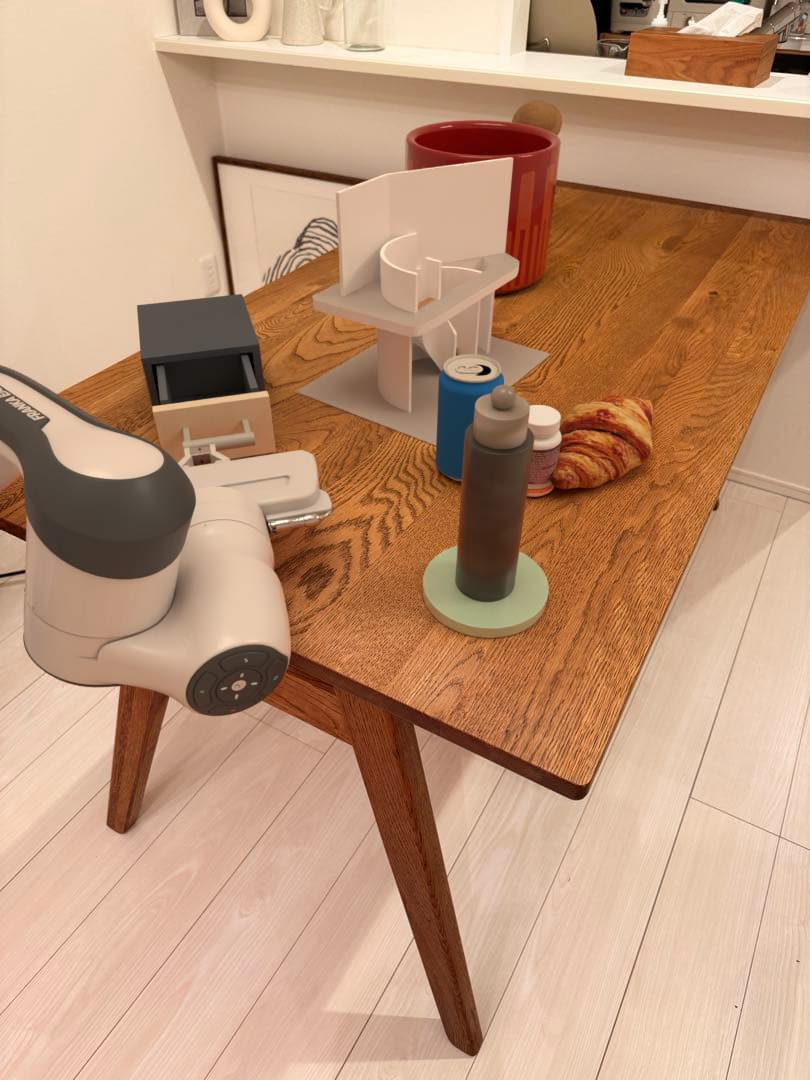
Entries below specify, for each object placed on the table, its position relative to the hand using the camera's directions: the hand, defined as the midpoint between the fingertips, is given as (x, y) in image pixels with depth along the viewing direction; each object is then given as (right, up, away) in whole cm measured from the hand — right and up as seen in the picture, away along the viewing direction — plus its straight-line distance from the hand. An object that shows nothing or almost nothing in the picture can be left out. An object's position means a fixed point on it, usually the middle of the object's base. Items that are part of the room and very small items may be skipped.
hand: (200, 452), depth 73 cm
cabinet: (-5, +10, +22) cm, 24 cm away
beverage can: (+26, -1, +9) cm, 28 cm away
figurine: (+43, +54, +75) cm, 102 cm away
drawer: (-1, +3, +12) cm, 12 cm away
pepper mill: (+27, -12, -6) cm, 30 cm away
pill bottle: (+33, -3, +7) cm, 34 cm away
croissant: (+42, 0, +11) cm, 43 cm away
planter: (+31, +36, +53) cm, 71 cm away
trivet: (+27, -13, -6) cm, 30 cm away
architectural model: (+23, +13, +26) cm, 37 cm away
